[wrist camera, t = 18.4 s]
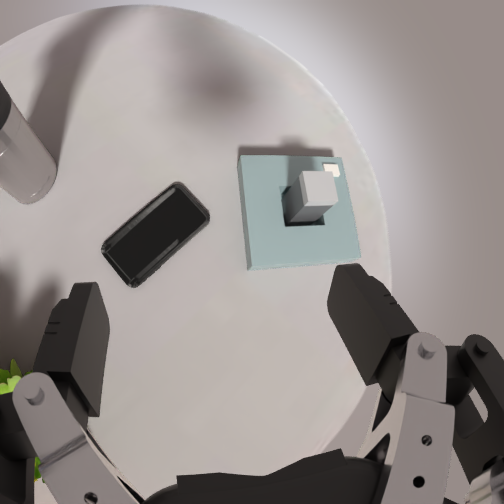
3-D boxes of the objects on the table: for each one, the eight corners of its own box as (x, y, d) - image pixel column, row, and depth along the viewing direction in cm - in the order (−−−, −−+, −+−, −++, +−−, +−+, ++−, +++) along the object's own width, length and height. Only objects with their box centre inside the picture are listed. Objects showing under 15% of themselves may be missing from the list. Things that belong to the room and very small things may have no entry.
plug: (285, 226, 46) (308, 201, 36) (281, 200, 47) (302, 170, 37) (310, 225, 47) (338, 201, 37) (306, 200, 47) (332, 171, 38)
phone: (98, 248, 40) (177, 180, 44) (100, 250, 41) (178, 184, 45) (132, 291, 40) (213, 219, 44) (133, 292, 41) (213, 221, 45)
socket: (247, 270, 44) (252, 265, 40) (237, 166, 47) (241, 153, 43) (350, 262, 47) (363, 256, 43) (332, 167, 50) (342, 155, 46)
